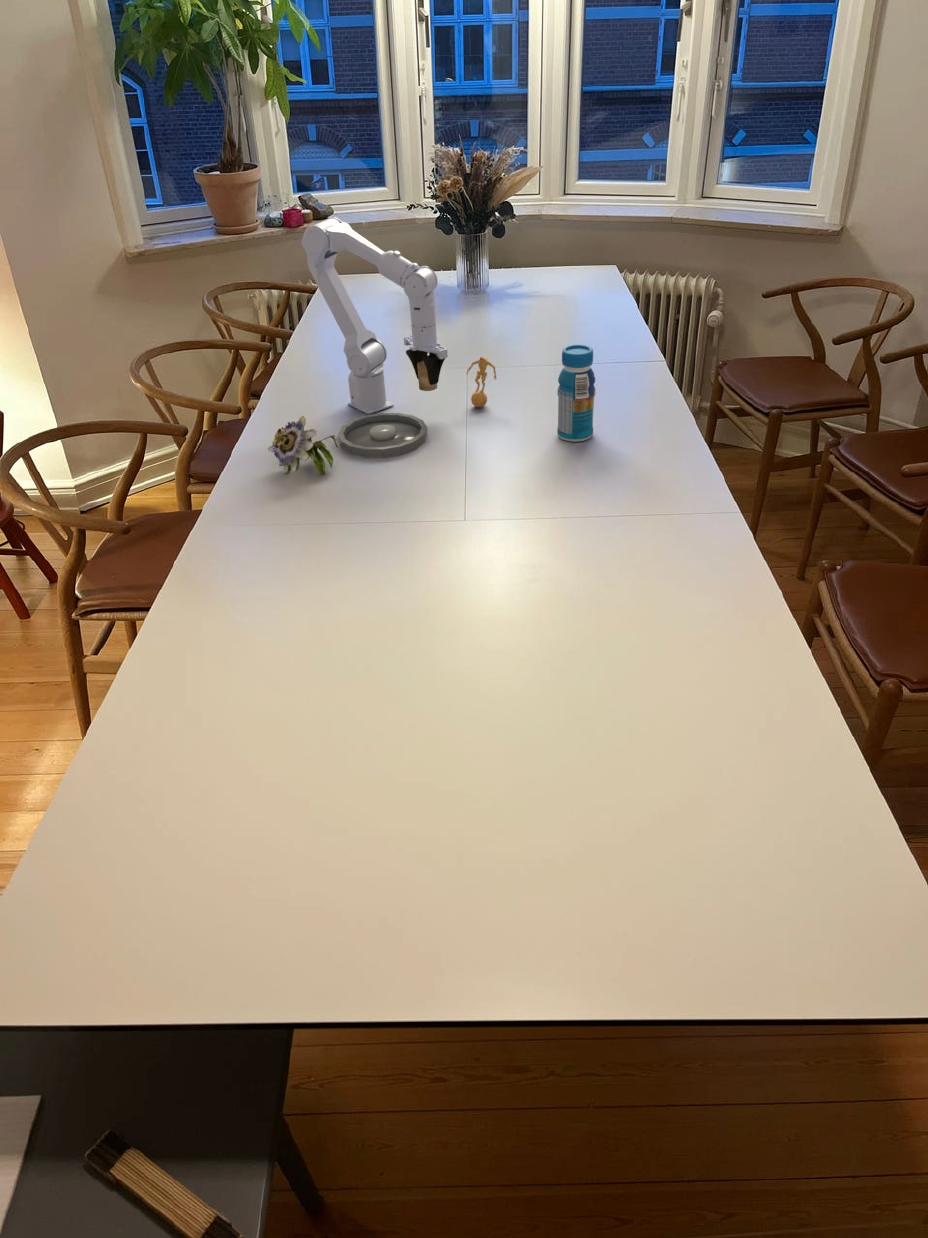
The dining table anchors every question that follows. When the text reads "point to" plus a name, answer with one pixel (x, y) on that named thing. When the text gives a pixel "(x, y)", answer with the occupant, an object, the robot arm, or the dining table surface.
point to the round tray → (387, 448)
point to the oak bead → (424, 378)
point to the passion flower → (299, 447)
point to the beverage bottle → (576, 394)
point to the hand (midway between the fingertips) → (427, 380)
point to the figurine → (479, 396)
